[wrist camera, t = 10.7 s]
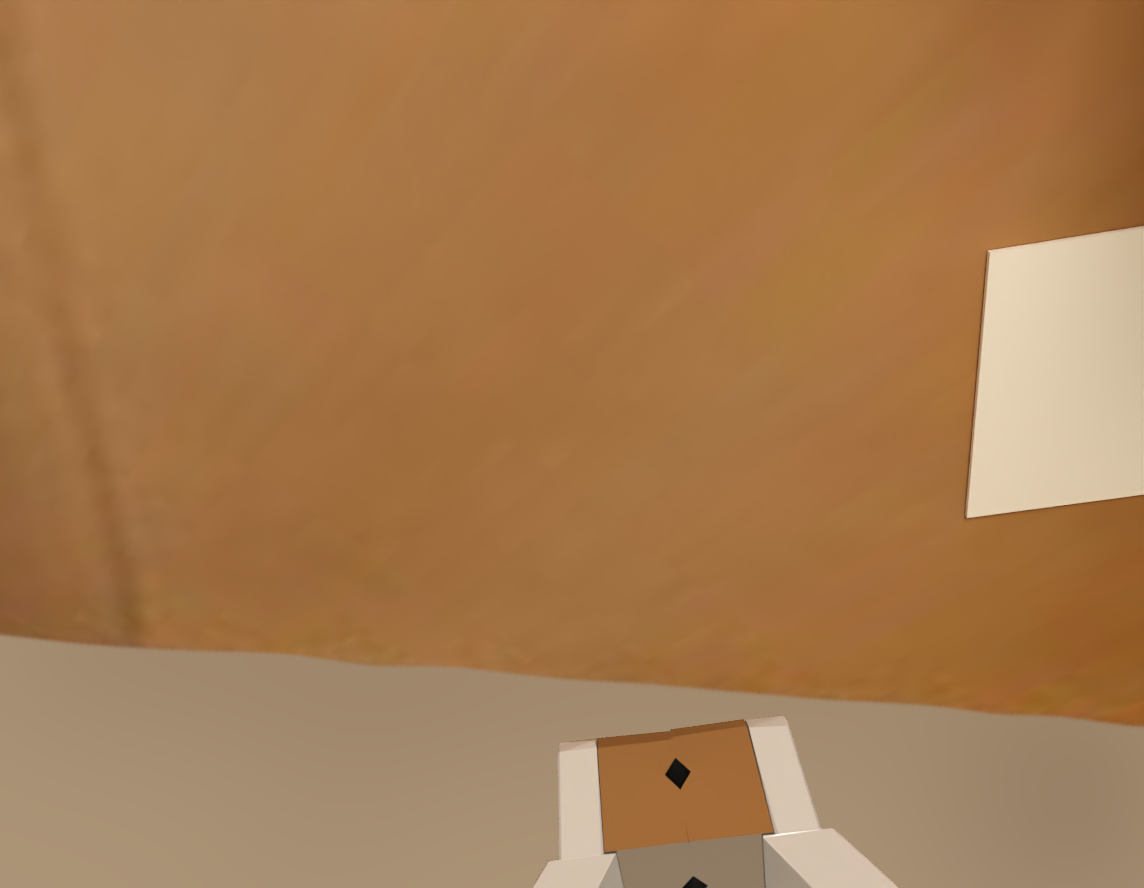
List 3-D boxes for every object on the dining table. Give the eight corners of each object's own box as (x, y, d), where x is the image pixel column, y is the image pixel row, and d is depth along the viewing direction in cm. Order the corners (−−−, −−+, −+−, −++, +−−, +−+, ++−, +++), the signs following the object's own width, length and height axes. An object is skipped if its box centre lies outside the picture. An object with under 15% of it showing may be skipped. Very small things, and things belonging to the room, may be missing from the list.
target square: (965, 515, 36) (966, 517, 36) (987, 250, 30) (990, 252, 30) (1256, 476, 35) (1259, 479, 35) (1340, 194, 29) (1344, 195, 29)
